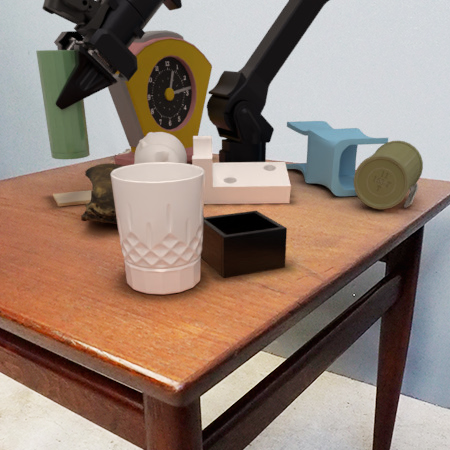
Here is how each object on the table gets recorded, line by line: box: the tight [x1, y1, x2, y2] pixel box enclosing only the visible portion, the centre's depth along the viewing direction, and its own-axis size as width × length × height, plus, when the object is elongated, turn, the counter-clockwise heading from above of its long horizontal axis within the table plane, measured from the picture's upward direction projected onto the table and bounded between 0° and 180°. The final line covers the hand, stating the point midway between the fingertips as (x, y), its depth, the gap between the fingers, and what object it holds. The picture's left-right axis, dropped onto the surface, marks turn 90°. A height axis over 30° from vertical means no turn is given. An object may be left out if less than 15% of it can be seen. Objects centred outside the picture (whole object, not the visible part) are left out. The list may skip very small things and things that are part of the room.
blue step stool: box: [285, 120, 389, 197], centre depth 84 cm, size 8×8×20 cm
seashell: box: [80, 163, 123, 225], centre depth 67 cm, size 16×9×7 cm, turn 3°
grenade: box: [354, 140, 424, 210], centre depth 74 cm, size 8×7×15 cm
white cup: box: [110, 162, 205, 295], centre depth 48 cm, size 8×8×10 cm
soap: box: [114, 148, 131, 157], centre depth 107 cm, size 10×4×1 cm, turn 171°
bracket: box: [191, 135, 292, 205], centre depth 74 cm, size 13×7×8 cm, turn 91°
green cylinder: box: [36, 49, 91, 160], centre depth 71 cm, size 5×5×13 cm
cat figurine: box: [134, 132, 188, 164], centre depth 80 cm, size 9×11×12 cm
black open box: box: [201, 210, 288, 278], centre depth 53 cm, size 6×6×4 cm
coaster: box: [52, 189, 92, 208], centre depth 76 cm, size 6×6×1 cm
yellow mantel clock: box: [107, 30, 213, 166], centre depth 95 cm, size 22×9×22 cm, turn 141°
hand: (53, 105), depth 70 cm, fingers closed on green cylinder, 5 cm apart
